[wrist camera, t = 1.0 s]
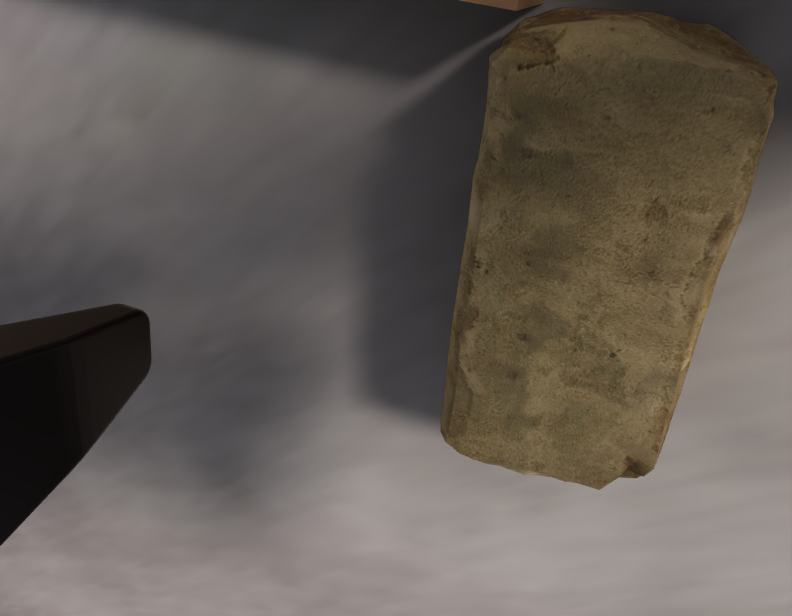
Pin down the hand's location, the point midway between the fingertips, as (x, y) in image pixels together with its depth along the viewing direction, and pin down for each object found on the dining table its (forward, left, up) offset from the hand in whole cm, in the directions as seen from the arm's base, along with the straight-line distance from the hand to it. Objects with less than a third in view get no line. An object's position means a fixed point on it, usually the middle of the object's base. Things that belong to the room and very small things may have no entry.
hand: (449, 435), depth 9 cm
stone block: (-1, +1, -12) cm, 13 cm away
